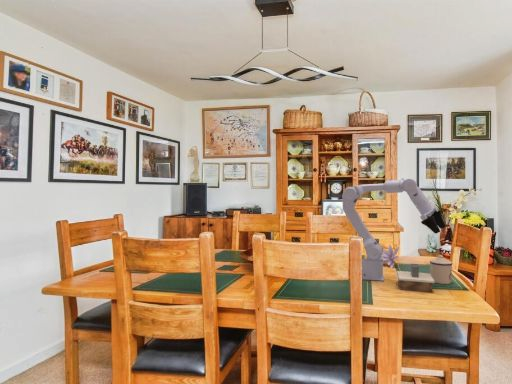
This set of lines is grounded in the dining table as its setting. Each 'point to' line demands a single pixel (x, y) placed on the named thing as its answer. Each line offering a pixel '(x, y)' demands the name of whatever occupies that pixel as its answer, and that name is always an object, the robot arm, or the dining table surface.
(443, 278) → the teacup with lid
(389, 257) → the water lily
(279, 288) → the dining table surface
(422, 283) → the walnut box
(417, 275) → the cream lid
